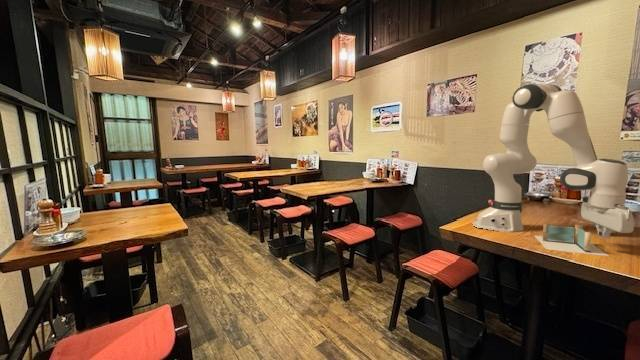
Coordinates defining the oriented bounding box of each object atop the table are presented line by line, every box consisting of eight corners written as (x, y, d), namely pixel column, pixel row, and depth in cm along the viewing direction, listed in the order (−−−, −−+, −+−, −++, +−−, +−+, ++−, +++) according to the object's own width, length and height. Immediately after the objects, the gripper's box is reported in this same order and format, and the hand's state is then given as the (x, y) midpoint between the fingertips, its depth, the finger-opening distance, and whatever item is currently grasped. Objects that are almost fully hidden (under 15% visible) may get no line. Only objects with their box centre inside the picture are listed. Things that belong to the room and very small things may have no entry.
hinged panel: (576, 243, 107) (577, 227, 106) (581, 243, 106) (583, 227, 105) (584, 250, 99) (585, 232, 99) (590, 250, 99) (591, 233, 98)
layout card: (546, 250, 104) (546, 249, 104) (533, 236, 120) (534, 235, 120) (609, 257, 95) (609, 256, 95) (586, 241, 112) (586, 240, 112)
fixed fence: (543, 241, 112) (544, 223, 111) (541, 239, 114) (542, 222, 114) (582, 245, 106) (584, 226, 106) (580, 243, 108) (581, 224, 108)
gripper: (643, 208, 87) (638, 247, 89) (597, 197, 107) (594, 229, 108) (619, 207, 89) (614, 246, 91) (578, 196, 108) (575, 228, 110)
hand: (603, 236), depth 100 cm, fingers closed
